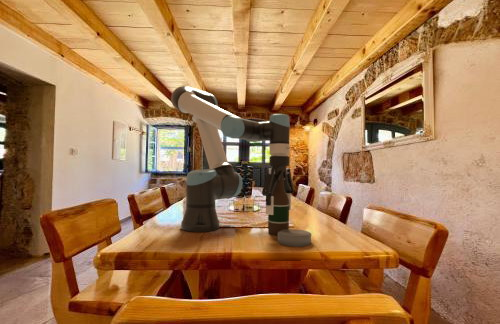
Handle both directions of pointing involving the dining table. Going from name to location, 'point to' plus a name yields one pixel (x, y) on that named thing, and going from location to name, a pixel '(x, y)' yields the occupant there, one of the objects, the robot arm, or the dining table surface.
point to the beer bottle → (279, 209)
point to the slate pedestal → (294, 237)
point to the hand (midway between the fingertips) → (278, 212)
